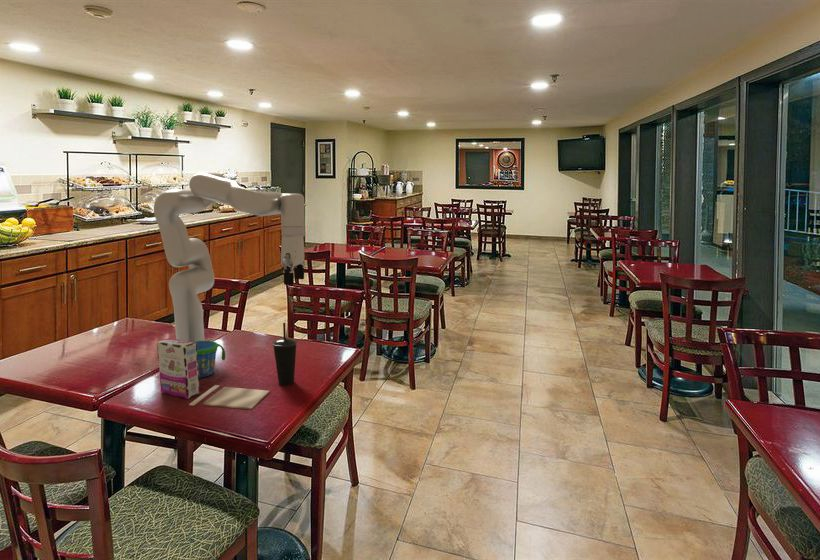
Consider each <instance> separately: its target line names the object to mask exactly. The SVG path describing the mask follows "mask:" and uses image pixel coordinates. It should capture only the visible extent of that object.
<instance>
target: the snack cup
mask: <svg viewBox="0 0 820 560" xmlns="http://www.w3.org/2000/svg"><path fill="white" fill-rule="evenodd" d="M196 345H197V359H198V375H199V379H200V378H201V379H202V378H205V377H208V376H213V374H214V372H215V367H216V366H215V365H216V355H217V351H218V348H220V349H221V350H222V351H221V360H222V361H226V356H227V355H226V351H225V348H224V347H223V346H222V345H221V344H219V343H217V342H216V341H214V340H213V341H212V340H205V341H196Z"/></svg>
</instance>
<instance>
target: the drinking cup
mask: <svg viewBox="0 0 820 560" xmlns="http://www.w3.org/2000/svg"><path fill="white" fill-rule="evenodd" d="M282 326H283V327H282V328H283V329H282V330H283V333H282V334H283V337H282V338H278V339H276V340H274V341H273V342H272V346H273V353H274V359H275V365H276V366H275V367H276V373H277V380H278V385H279V386H283V387H284V386H291V385H293V384H294V382H295V375H296V374H295V373H296V371H295V370H296V357H297V355H296V353H297V345H298V341H297V340H296V339H294V338H290V337H287V335H286V334H287V333H286V322H283V324H282Z"/></svg>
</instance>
